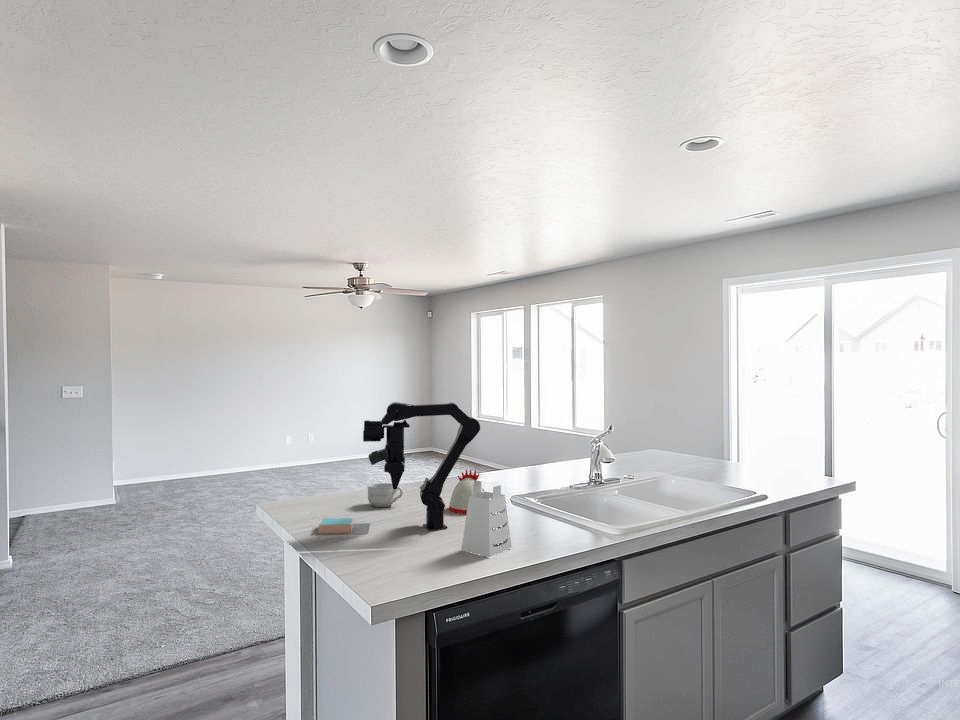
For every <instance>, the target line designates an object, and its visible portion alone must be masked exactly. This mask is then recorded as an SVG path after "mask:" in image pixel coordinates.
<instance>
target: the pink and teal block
mask: <svg viewBox="0 0 960 720" xmlns="http://www.w3.org/2000/svg"><path fill="white" fill-rule="evenodd" d="M353 524H354V517H332V518H329V517H328V518H322V519H321V520H320V522H319V525H318V530H317V532H318V534H327V533H351V531H352V528H353Z"/></svg>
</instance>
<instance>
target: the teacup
mask: <svg viewBox="0 0 960 720" xmlns="http://www.w3.org/2000/svg"><path fill="white" fill-rule="evenodd" d="M397 490H399V491H400V493H399V495H398V496H397ZM403 495H404V488H402V487H401V486H398V487H397V489H393V486H392V482H391V483H390V482H389V483H388V482H379V483H372V484H371V483H370V484H368V485H367V499H368V503H369V504H371V505H372V507H376V508H386V507H391V506H392V505H393V504H394V503H396V502H397V500H399V499H401V497H402V496H403Z"/></svg>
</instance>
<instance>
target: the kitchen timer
mask: <svg viewBox="0 0 960 720" xmlns="http://www.w3.org/2000/svg"><path fill="white" fill-rule="evenodd" d="M480 474H481V473H480V472H478V474H477V470H476V469H475V470H474V472H472V469H471V468H470V469H469V473H468V469H467V468H465V474H464V472H463V471H461V475H462V477H460V475H459V474H458V475H457V477H458V480H459V481H458V482H457V484H456V485H455V487H454V489H453V491H452V493H451V497H450V501H449V511H450V512H451V513H453V512H454V513H453V514H457V513H458V514H457V515H467V508H468V501H469V496H470V495H473V483H474V482H475V481H476V480H479V477H480ZM481 492H485V489H484V488H483V487H482V486H481Z"/></svg>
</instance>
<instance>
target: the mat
mask: <svg viewBox="0 0 960 720" xmlns="http://www.w3.org/2000/svg"><path fill="white" fill-rule="evenodd" d="M370 527H371V523H370V522H369V523H365V522H364V523H353V528H352V531H351V533H327V534H318V531H317V532H316V534H315V537H321V536H345V535H346V536H353V535H354V536H355V535H356V536H357V535H359V536H360V535H368V534H369V532H370V531H369V530H370Z"/></svg>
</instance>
